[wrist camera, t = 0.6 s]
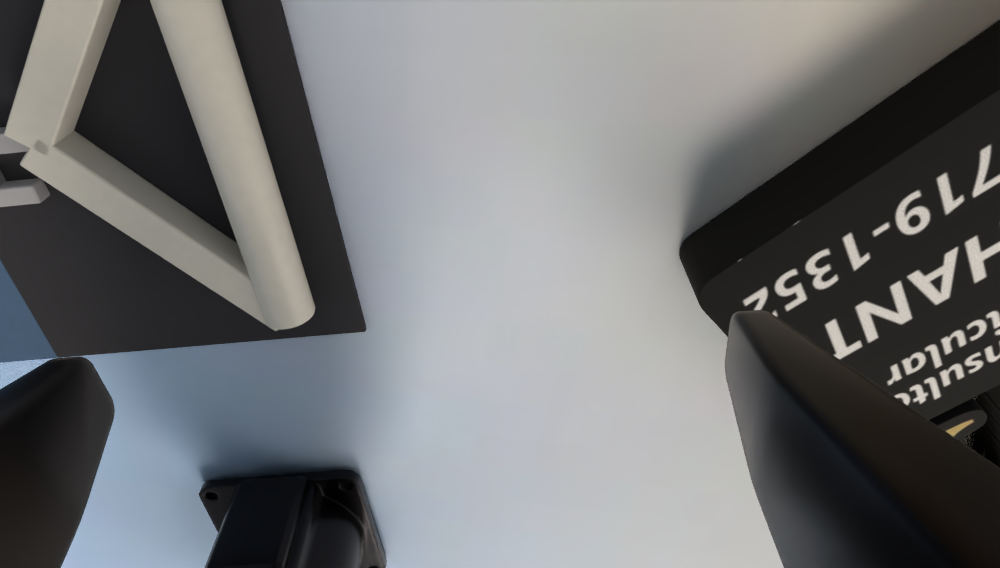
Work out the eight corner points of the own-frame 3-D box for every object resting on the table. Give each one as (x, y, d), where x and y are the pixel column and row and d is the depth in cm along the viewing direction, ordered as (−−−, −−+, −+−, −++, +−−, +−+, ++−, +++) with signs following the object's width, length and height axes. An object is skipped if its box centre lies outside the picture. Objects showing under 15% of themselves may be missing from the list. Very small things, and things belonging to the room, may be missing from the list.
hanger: (323, 306, 23) (312, 336, 22) (70, 328, 24) (44, 358, 22) (177, -181, 16) (147, -181, 14) (-190, -135, 16) (-252, -131, 15)
